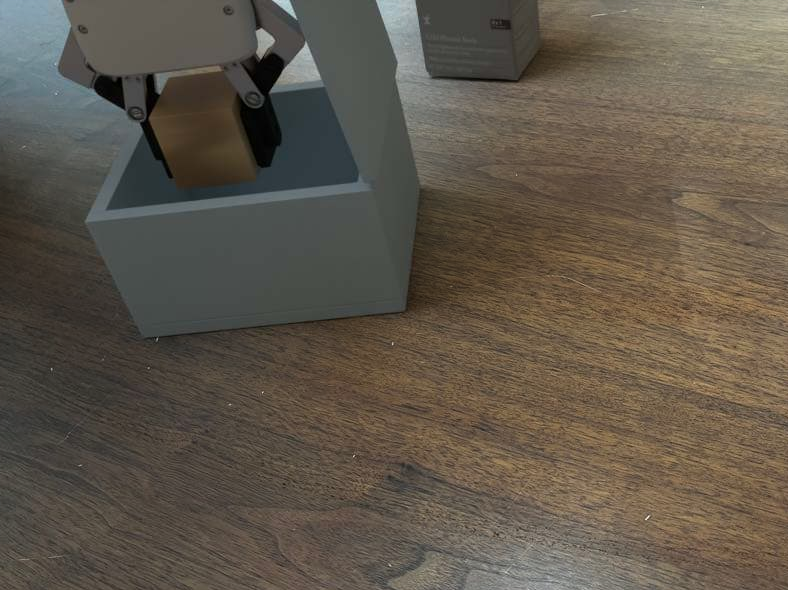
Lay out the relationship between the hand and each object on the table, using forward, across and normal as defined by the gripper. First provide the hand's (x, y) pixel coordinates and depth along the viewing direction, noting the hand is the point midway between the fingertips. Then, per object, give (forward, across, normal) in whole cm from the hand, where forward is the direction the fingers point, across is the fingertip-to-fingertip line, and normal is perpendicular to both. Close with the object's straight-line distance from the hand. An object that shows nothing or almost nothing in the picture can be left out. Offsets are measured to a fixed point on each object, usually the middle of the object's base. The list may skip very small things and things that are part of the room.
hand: (223, 158), depth 68 cm
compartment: (+8, -2, 0) cm, 8 cm away
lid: (-10, -9, 0) cm, 14 cm away
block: (0, 0, 0) cm, 0 cm away
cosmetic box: (+8, -15, -25) cm, 30 cm away
